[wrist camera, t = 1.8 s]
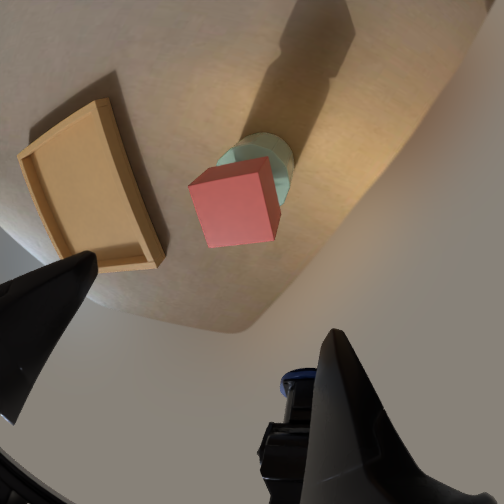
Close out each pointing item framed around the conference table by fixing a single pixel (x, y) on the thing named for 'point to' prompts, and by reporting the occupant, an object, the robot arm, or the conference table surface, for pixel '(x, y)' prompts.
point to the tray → (90, 192)
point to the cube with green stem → (237, 203)
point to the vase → (263, 147)
